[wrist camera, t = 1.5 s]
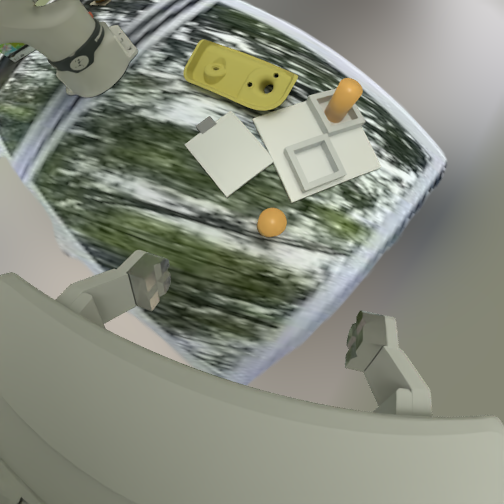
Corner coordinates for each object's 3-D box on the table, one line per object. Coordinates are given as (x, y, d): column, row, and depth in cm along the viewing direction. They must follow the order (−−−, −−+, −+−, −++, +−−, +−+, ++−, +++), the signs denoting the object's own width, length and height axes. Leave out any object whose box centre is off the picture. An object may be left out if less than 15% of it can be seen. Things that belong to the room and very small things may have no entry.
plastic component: (179, 78, 41) (203, 33, 37) (197, 84, 48) (219, 44, 43) (273, 120, 40) (302, 70, 36) (282, 124, 47) (307, 80, 42)
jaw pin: (253, 220, 45) (253, 214, 35) (273, 211, 45) (279, 203, 35) (262, 240, 45) (265, 240, 35) (282, 231, 45) (291, 229, 35)
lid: (180, 140, 44) (179, 138, 43) (226, 107, 44) (225, 104, 43) (227, 197, 45) (226, 196, 44) (274, 161, 44) (275, 160, 43)
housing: (252, 121, 44) (252, 89, 33) (340, 94, 44) (358, 63, 33) (291, 203, 45) (303, 191, 34) (379, 168, 44) (409, 151, 33)
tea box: (15, 64, 42) (-10, 46, 28) (24, 42, 42) (2, 24, 27) (46, 45, 42) (21, 22, 28) (55, 24, 42) (33, 1, 27)
